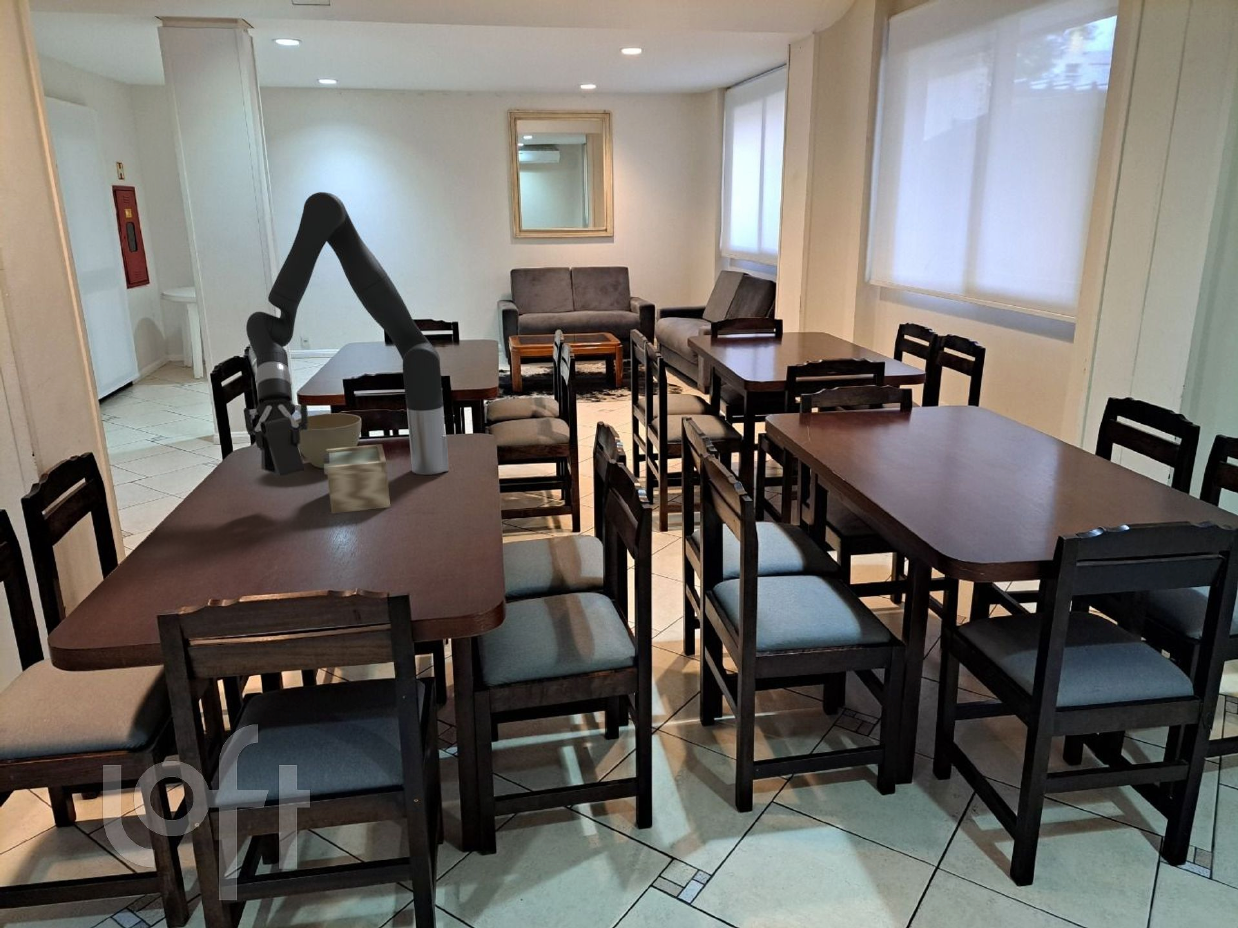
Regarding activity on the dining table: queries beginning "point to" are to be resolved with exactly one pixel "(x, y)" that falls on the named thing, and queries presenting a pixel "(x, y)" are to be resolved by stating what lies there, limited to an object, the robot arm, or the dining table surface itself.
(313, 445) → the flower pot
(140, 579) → the dining table surface
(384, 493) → the bread box
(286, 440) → the phone stand
